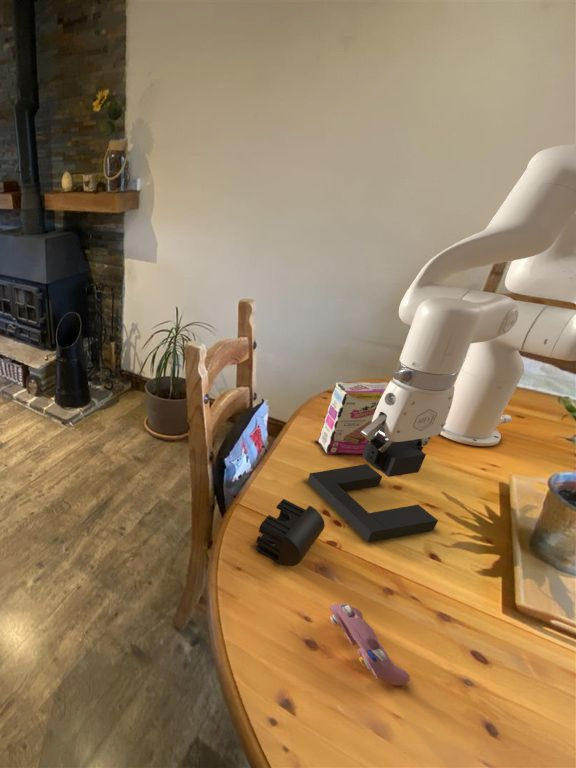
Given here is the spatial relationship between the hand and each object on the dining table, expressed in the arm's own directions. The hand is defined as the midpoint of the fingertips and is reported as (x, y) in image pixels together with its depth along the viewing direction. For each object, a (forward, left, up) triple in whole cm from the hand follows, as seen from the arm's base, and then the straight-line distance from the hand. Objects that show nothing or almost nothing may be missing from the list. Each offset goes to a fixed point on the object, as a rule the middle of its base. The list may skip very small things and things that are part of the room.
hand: (390, 461), depth 76 cm
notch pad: (+1, 0, -10) cm, 10 cm away
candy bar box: (-8, -16, -10) cm, 21 cm away
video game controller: (+23, +24, -10) cm, 35 cm away
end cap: (+22, +6, -10) cm, 25 cm away
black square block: (0, 0, -1) cm, 1 cm away
